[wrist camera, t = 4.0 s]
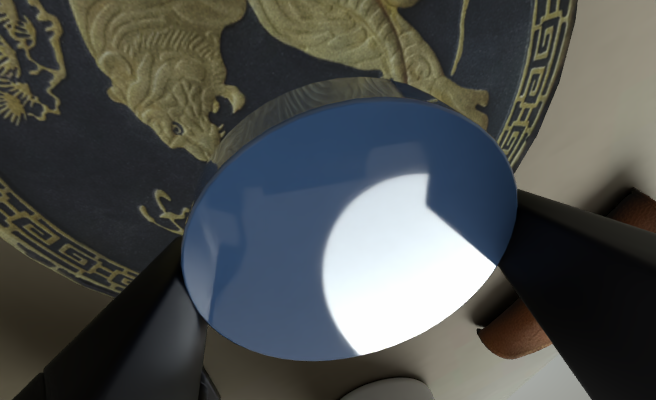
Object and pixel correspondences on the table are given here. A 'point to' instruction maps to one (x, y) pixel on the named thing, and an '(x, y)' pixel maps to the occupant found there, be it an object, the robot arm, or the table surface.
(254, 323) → the flat blue disc
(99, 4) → the decorative plate
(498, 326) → the sunglasses case
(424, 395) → the cylinder vase
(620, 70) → the table surface
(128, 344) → the robot arm
